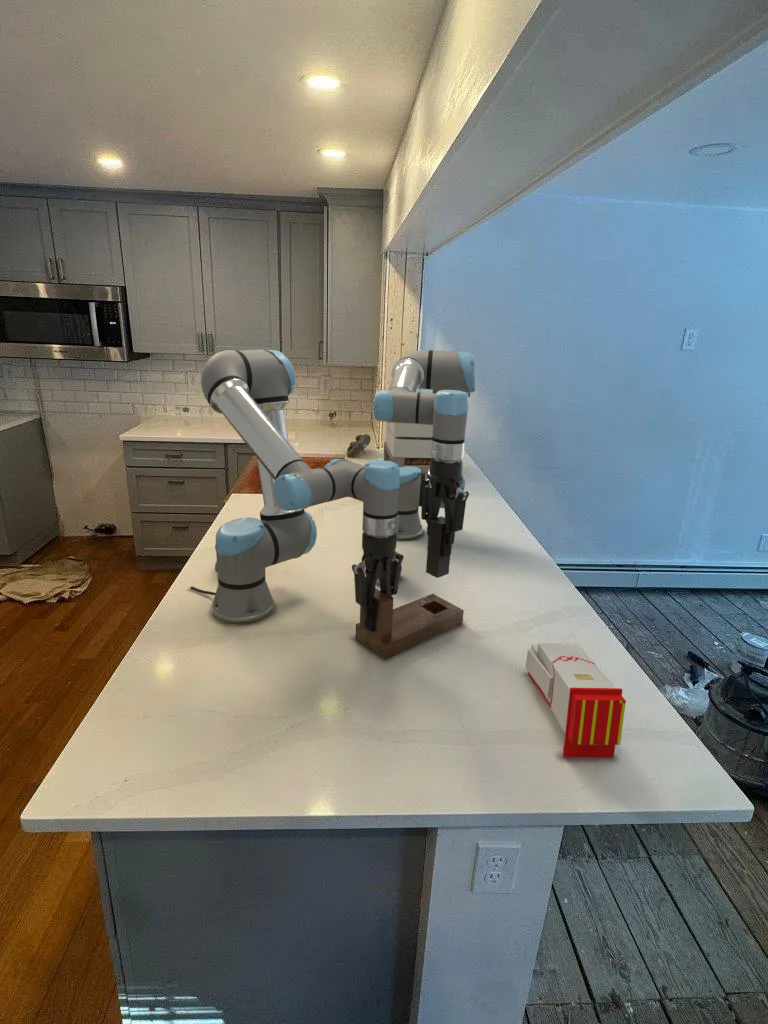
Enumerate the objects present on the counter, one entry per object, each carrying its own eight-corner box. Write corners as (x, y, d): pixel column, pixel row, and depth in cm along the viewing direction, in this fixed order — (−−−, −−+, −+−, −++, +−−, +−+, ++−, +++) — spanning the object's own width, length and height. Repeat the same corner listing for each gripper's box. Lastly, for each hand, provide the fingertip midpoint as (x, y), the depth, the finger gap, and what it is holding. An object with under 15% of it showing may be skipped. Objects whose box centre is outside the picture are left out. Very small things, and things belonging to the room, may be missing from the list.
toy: (573, 626, 127) (635, 696, 97) (567, 680, 129) (626, 765, 100) (519, 624, 126) (566, 695, 97) (515, 680, 129) (558, 764, 100)
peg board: (355, 638, 136) (356, 586, 131) (431, 606, 152) (435, 559, 147) (385, 660, 128) (387, 605, 123) (462, 624, 144) (467, 574, 139)
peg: (425, 572, 140) (429, 519, 136) (437, 568, 143) (441, 516, 138) (437, 578, 137) (441, 524, 133) (448, 574, 140) (453, 520, 135)
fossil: (346, 440, 316) (367, 425, 311) (357, 453, 319) (378, 438, 314) (340, 453, 296) (362, 438, 291) (351, 468, 299) (374, 452, 294)
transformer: (382, 463, 289) (386, 382, 275) (445, 464, 293) (451, 384, 279) (390, 482, 257) (394, 392, 243) (460, 483, 261) (468, 394, 247)
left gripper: (361, 546, 115) (358, 645, 123) (418, 529, 125) (412, 622, 133) (339, 534, 121) (337, 630, 129) (395, 519, 131) (390, 609, 139)
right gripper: (409, 453, 134) (404, 544, 142) (463, 469, 122) (454, 568, 130) (431, 449, 139) (425, 538, 147) (485, 465, 127) (475, 560, 135)
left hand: (375, 626), depth 131 cm, fingers closed on peg board, 3 cm apart
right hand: (438, 552), depth 138 cm, fingers closed on peg, 4 cm apart
